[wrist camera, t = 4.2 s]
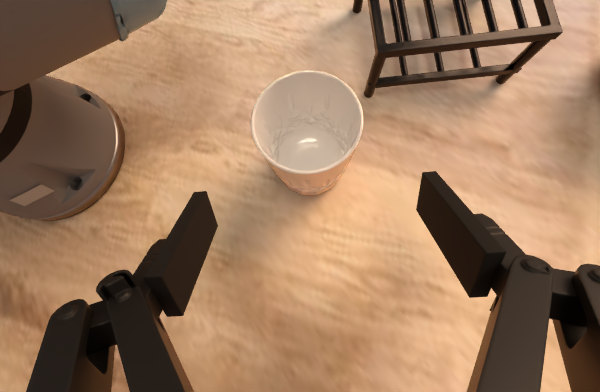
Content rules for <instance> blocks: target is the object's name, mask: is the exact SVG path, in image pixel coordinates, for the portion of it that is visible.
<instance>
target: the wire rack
mask: <svg viewBox="0 0 600 392" xmlns="http://www.w3.org/2000/svg"><path fill="white" fill-rule="evenodd" d="M396 1H397V7H398V12H399V18H400V24H401V29H402V35H403V41H404V42H402V36H401V31H400V25H399V19H398V14H397V8H396V2H395V0H389V3H390V9H391V15H392V21H393V26H394V32H395V38H396V43H390V44H387V43H386V41H385V35H384V28H383V22H382V16H381V10H380V4H379V0H368V6H369V13H370V19H371V26H372V33H373V39H374V46H375V56H374V60H373V63H372V67H371V70H370V74H369V77H368V80H367V84H366V88H365V91H364V95H365V96H366V97H368V98H370V97H372V96H373V94H374V91H375V88H380V87H389V86H399V85H408V84H418V83H427V82H437V81H446V80H456V79H465V78H475V77H484V76H494V75H498V76H497V77H496V82H497V83H499V84H503V83H505V82H506V81H507V80H508V79H509V78H510V77H511V76H512V75H513V74H514V73H518V72H519V71H520V70H521V69H522V68H521V67H522V66H523V65H524V64H525V63H526V62H528V61H529V60H530V59H531V58H532V57H533V56H534V55H535V54H536V53H537V52H538V51H540V50H541V49H542V48H543V47H544V46H545V45H546V44H547V43H548V42H549V41H550V40H553V39H556V38H557V37H558V36H559V35H560V34H561V33H562V32H563V31H562V28H561V25H560V22H559V19H558V16H557V13H556V10H555V7H554V3H553V0H534V3H535V6H536V9H537V13H538V16H539V19H540V23H541V26H540V27H531V28H528V25H527V21H526V18H525V14H524V11H523V7H522V4H521V0H511V4H512V7H513V11H514V15H515V18H516V22H517V25H518V29H514V30H505V31H499V30H498V27H497V23H496V19H495V15H494V11H493V8H492V4H491V0H481V1H482V5H483V9H484V13H485V17H486V21H487V25H488V29H489V32H487V33H478V34H473V31H472V27H471V23H470V19H469V14H468V10H467V6H466V2H465V0H453V4H454V9H455V13H456V18H457V22H458V26H459V31H460V36H452V37H443V38H440V34H439V30H438V25H437V20H436V15H435V11H434V6H433V1H432V0H423V2H424V7H425V12H426V17H427V22H428V27H429V32H430V37H431V39H425V40H416V41H411V36H410V30H409V25H408V20H407V14H406V9H405V3H404V0H396ZM362 3H363V0H354V3H353V12H354V13H359V12H360V11H361V8H362ZM525 42H531V43H530V44H529V45H528V46H527V47H526V48H525V49H524V50H523V51H522V52H521V53H520V54H519V55H518V56H517V57H516V58H515V59H514V60H513V61H512V62H511V63H510V64H505V65H496V66H487V67H481V65H480V60H479V56H478V52H477V48H480V47H489V46H498V45H507V44H516V43H525ZM462 49H469V50H470V54H471V58H472V63H473V67H474V68H468V69H458V70H449V71H444V66H443V62H442V57H441V52H444V51H453V50H462ZM426 53H434V56H435V61H436V66H437V71H438V72H430V73H421V74H412V75H408V70H407V65H406V59H405V56H407V55H417V54H426ZM398 56H399V62H400V68H401V73H402V76H393V77H383V78H379V76H380V73H381V70H382V68H383V65H384V62H385V59H386V58H389V57H398Z"/></svg>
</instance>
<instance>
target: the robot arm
mask: <svg viewBox="0 0 600 392" xmlns="http://www.w3.org/2000/svg"><path fill="white" fill-rule="evenodd" d="M166 3H167V0H0V211H1V212H4V213H6V214H10V215H13V216H17V217H20V218H26V219H34V220H45V221H47V220H58V219H62V218H66V217H69V216H72V215H74V214H77V213H79V212H81V211H82V210H84V209H86V208H87V207H89V206H90V205H92V204H93V203H94V202H95V201H97V200H98V199H99V198H100V197H101V196H102V195H103V194H104V193H105V192H106V190H107V189H108V188H109V187H110V185H111V184H112V182H113V181H114V179H115V177H116V175H117V173H118V171H119V169H120V166H121V163H122V160H123V156H124V149H125V136H124V130H123V127H122V123H121V121H120V119H119V117H118V115H117V114H116V112H115V111H114V110H113V108H112V107H111V106H110V105H109V104H107V103H106V102H105V101H104V100H102V99H101V98H99V97H98V96H97V95H95V94H93V93H92V92H90V91H88V90H86V89H84V88H82V87H80V86H77V85H74V84H71V83H68V82H65V81H62V80H59V79H56V78H53V77H49V76H46V74H48V73H50V72H52V71H54V70H56V69H58V68H60V67H62V66H64V65H67V64H69V63H71V62H73V61H75V60H77V59H79V58H81V57H83V56H85V55H87V54H89V53H91V52H93V51H95V50H97V49H100V48H102V47H104V46H106V45H108V44H110V43H112V42H114V41H116V40H118V39H119V40H121V41H125V40H126V39H127V38H128V35H129V34H130V33H132V32H133V31H135V30H137V29H139V28H141V27H142V26H144V25H146V24H148V23H150V22H151V21H153V20H155V19H157V18H158V17H159V16H160V15H161V14H162V13H163V12H164V9H165V6H166ZM416 210H417V212H418V213H419V215H420V217H421V218H422V220H423V222H424V223H425V225H426V227H427V228H428V230H429V232H430V233H431V235H432V236H433V238H434V240H435V241H436V243H437V245H438V246H439V248H440V250H441V251H442V253H443V255H444V256H445V258H446V260H447V261H448V263H449V264H450V266H451V268H452V269H453V271H454V273H455V274H456V276H457V278H458V279H459V281H460V283H461V284H462V286H463V287H464V289H465V291H466V292H467V294H468V296H469V297H470V298H471V297H487V296H488V294H489V291H490V289H491V288H492V289H493V291H494V292H495V293H496V295H497V296H496V298H495V300H494V302H493V304H492V307H491V309H490V311H491V313H490V317H489V320H488V323H487V327H486V330H485V333H484V337H483V340H482V343H481V347H480V350H479V353H478V356H477V360H476V363H475V366H474V370H473V373H472V376H471V380H470V383H469V386H468V390H467V392H540V387H541V379H542V371H543V363H544V355H545V347H546V339H547V331H548V323H549V318H550V319H552V320H553V323H554V327H555V331H556V335H557V339H558V342H559V346H560V350H561V354H562V357H563V361H564V365H565V369H566V373H567V376H568V380H569V384H570V388H571V391H572V392H600V266H598V265H593V264H584V265H581V266H580V267H579V268H578V269H577V270H576V272H572V271H565V270H559V269H553V268H552V267H551V266H550V265H549V264H548V263H546V262H545V261H543V260H541V259H539V258H537V257H534V256H530V255H526V254H525V253H524V252H523V251H522V250H521V249H520V248H519V247H518V246H517V245H516V244H515V243H514V242H513V240H512V239H511V238H510V237H509V236H508V235H507V234H505V232H504V231H503V230H502V229H501V228H499V226H498V225H497V224H496V223H495V222H494V221H493V220H492V219H491V218H489V217H487V216H486V215H484V214H473V213H472V212H471V211H470V210H469V208H468V207H467V206H466V205H465V204H464V203H463V202H462V201H461V199H460V198H459V197H458V196H457V195H456V194H455V193H454V191H453V190H452V189H451V188H450V187H449V186H448V185H447V184H446V182H445V181H444V180H443V179H442V178H441V177H440V176H439V175H438V173H437V172H436V171H434V172H423V173H422V179H421V185H420V191H419V197H418V203H417V209H416ZM217 227H218V225H217V222H216V219H215V216H214V213H213V210H212V207H211V204H210V201H209V198H208V195H207V192H206V191H203V192H194V193H193V195H192V197H191V198H190V200H189V202H188V203H187V205H186V207H185V208H184V210H183V212H182V214H181V215H180V217H179V219H178V220H177V222H176V224H175V225H174V227H173V229H172V230H171V232H170V234H169V235H168V237H167V239H159V240H158V241H157V242H156V243H155V244H154V245H152V246H151V248H150V249H149V251H148V252H147V255H146V256H145V257H144V259H143V260H142V261H143V262H141V263H140V265H139V266H138V268H137V270H136V271H135V273H134V274H133V275H132V274H131V273H130V272H129V271H128V270H119V271H116V272H113V273H111V274H109V275H108V276H106V277H105V278H104V279H103V280H101V281H100V282H99V284H98V286H97V288H96V292H97V293H98V294H99V296H100V297H101V298H102V300H103V301H100V302H97V303H94V304H91V305H88V304H87V302H86V301H84V300H83V299H77V300H73V301H70V302H68V303H66V304H64V305H63V306H61V307H60V308H58V309H57V310H56V311H55V312H54V313H53V314H52V316H51V318H50V320H49V322H48V325H47V328H46V332H45V335H44V338H43V341H42V344H41V347H40V350H39V353H38V356H37V359H36V363H35V366H34V369H33V372H32V375H31V378H30V381H29V384H28V387H27V391H26V392H111V387H112V375H113V363H114V351H115V345H117V346H118V350H119V353H120V357H121V361H122V364H123V368H124V372H125V375H126V379H127V383H128V386H129V390H130V392H194V391H193V389H192V386H191V384H190V382H189V380H188V378H187V376H186V373H185V371H184V369H183V367H182V365H181V362H180V360H179V358H178V356H177V354H176V352H175V349H174V347H173V345H172V343H171V341H170V338H169V336H168V334H167V332H166V330H165V328H164V325H163V323H162V321H161V319H160V318H159V316H160V314H161V312H162V310H163V311H164V312H165V314H166V316H167V317H171V316H183V315H184V312H185V309H186V307H187V304H188V302H189V299H190V296H191V294H192V291H193V289H194V286H195V284H196V281H197V278H198V276H199V273H200V271H201V268H202V266H203V263H204V260H205V258H206V255H207V253H208V250H209V247H210V245H211V242H212V240H213V237H214V235H215V232H216V229H217Z"/></svg>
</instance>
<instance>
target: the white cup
mask: <svg viewBox="0 0 600 392" xmlns="http://www.w3.org/2000/svg"><path fill="white" fill-rule="evenodd" d="M362 130H363V111H362V107H361V104H360V102H359V99H358V98H357V96H356V94H355V93H354V91H353V90H352V89H351V88H350V87H349V86H348V85H347V84H346V83H345V82H344V81H342V80H341V79H339V78H337V77H336V76H334V75H331V74H329V73H326V72H322V71H316V70H302V71H296V72H292V73H289V74H286V75H284V76H281V77H280V78H278V79H276V80H275V81H273V82H272V83H271V84H269V85H268V86H267V87H266V88H265V89H264V90H263V92H262V93H261V94H260V96H259V97H258V99H257V101H256V103H255V105H254V108H253V111H252V115H251V132H252V137H253V140H254V142H255V145H256V147H257V148H258V150H259V152H260V153H261V154H262V156H263V157H264V158H265V160H266V161H267V162H268V164H269V165H270V166H271V168H272V169H273V171H274V172H275V173H276V174H277V175H278V176H279V178H280V179H281V180H282V181H283V182H285V183H286V185H287V186H288V187H289V188H290V189H292V190H294V191H296V192H298V193H300V194H302V195H318V194H321V193H323V192H325V191H327V190H330V189H331V188H332V187H333V186H334V184H335V183H336V182H337V181H338V180H339V179H340V177H341V175H342V174H343V172H344V170H345V169H346V167H347V165H348V163H349V161H350V159H351V157H352V155H353V153H354V151H355V149H356V146H357V144H358V142H359V140H360V138H361V135H362Z"/></svg>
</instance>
